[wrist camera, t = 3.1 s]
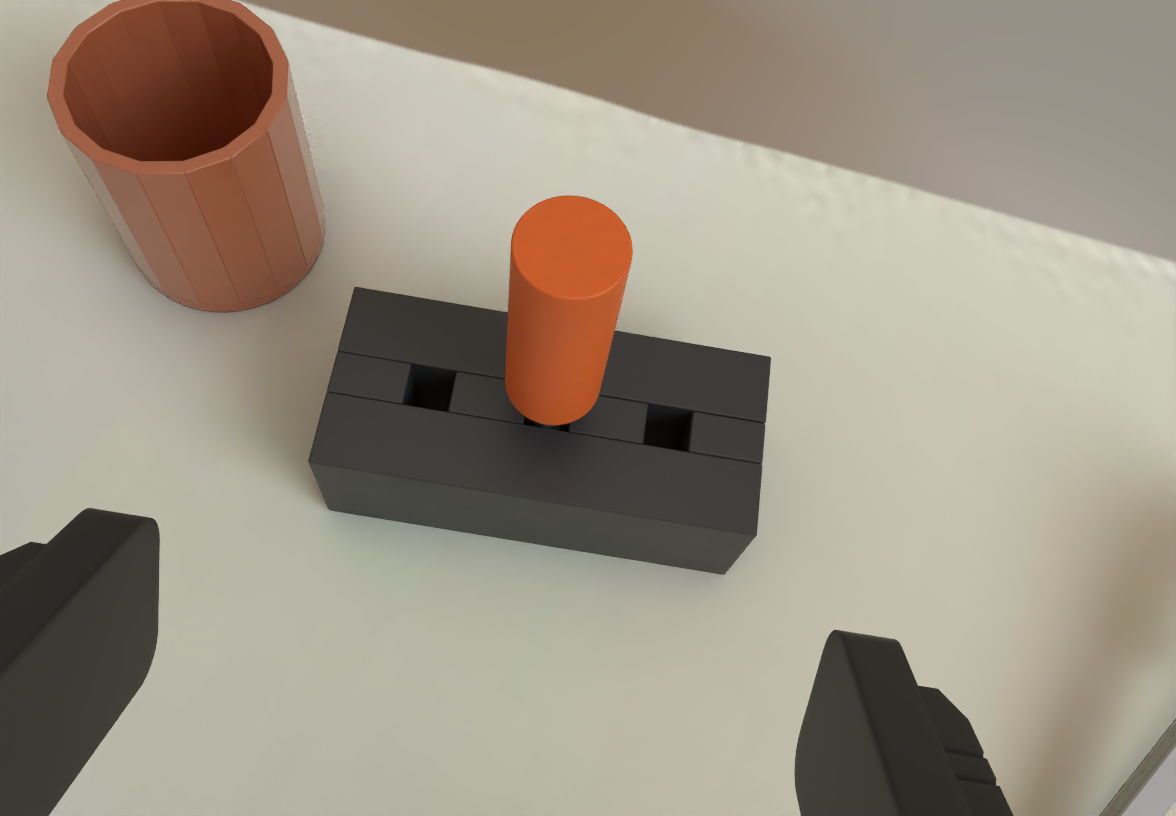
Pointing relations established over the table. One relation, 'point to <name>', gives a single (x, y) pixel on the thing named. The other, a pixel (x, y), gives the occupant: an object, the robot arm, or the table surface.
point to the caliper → (1149, 782)
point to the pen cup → (193, 147)
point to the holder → (542, 439)
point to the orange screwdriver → (563, 306)
